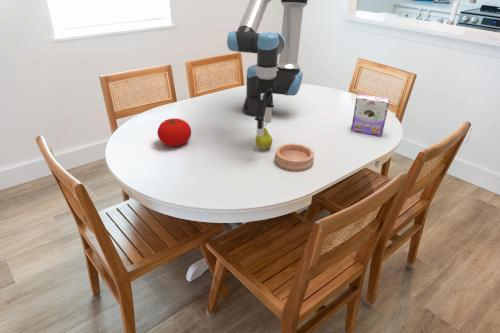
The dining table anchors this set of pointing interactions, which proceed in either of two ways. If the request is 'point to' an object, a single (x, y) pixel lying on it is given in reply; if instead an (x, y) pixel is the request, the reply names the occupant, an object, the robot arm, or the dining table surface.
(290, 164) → the dish
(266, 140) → the fruit
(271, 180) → the dining table surface
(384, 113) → the candy box
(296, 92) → the robot arm
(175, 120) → the tomato
